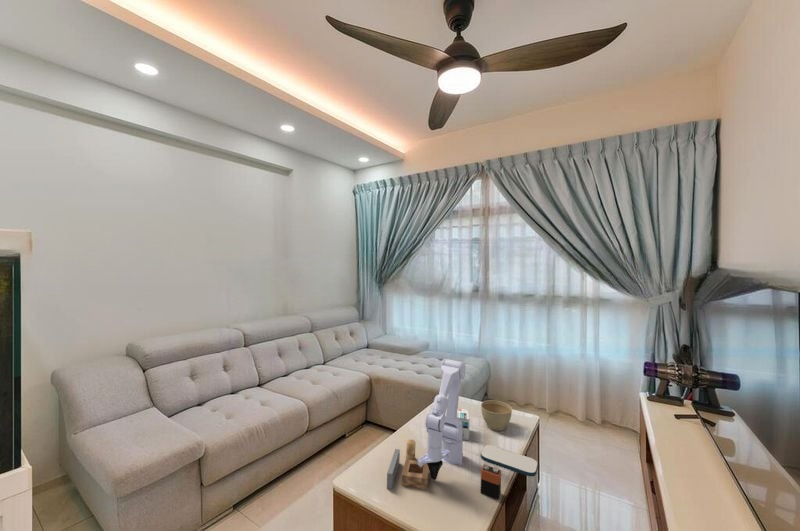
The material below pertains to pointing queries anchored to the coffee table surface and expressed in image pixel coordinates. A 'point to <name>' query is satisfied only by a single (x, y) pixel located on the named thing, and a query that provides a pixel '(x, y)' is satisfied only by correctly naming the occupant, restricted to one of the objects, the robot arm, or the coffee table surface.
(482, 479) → the battery
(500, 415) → the planter bowl
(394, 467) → the slate stop wall
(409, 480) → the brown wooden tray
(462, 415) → the light bulb box
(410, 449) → the oak dowel
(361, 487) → the coffee table surface
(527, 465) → the white teal rounded slab
